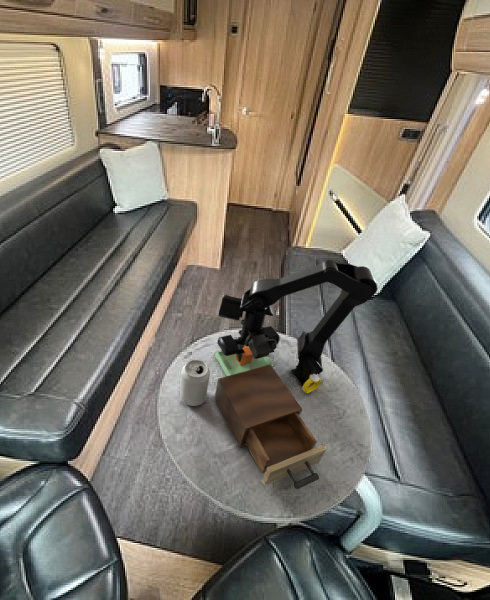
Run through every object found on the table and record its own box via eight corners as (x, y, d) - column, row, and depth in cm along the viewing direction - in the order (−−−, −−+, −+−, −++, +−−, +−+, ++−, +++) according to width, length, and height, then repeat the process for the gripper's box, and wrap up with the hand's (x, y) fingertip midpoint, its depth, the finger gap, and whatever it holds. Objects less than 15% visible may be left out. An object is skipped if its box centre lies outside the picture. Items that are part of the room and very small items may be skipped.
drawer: (330, 480, 75) (339, 466, 71) (274, 505, 69) (281, 492, 65) (284, 413, 88) (290, 398, 84) (235, 430, 82) (239, 415, 79)
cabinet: (294, 427, 86) (302, 408, 81) (239, 447, 80) (245, 428, 75) (264, 382, 97) (270, 364, 92) (214, 397, 91) (217, 378, 86)
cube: (245, 354, 105) (247, 345, 103) (251, 362, 102) (253, 354, 100) (234, 356, 104) (236, 348, 102) (240, 365, 101) (242, 356, 99)
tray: (255, 345, 110) (256, 341, 109) (272, 369, 102) (274, 365, 100) (214, 355, 104) (215, 351, 103) (230, 381, 96) (231, 377, 95)
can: (203, 410, 87) (207, 381, 80) (176, 404, 88) (178, 375, 81) (208, 389, 93) (213, 360, 86) (183, 383, 94) (186, 354, 87)
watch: (312, 383, 99) (318, 370, 95) (319, 390, 97) (325, 377, 94) (298, 390, 96) (304, 377, 93) (305, 397, 94) (311, 384, 91)
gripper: (237, 347, 84) (229, 386, 93) (296, 333, 90) (283, 371, 100) (220, 321, 92) (213, 359, 101) (275, 310, 99) (264, 346, 108)
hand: (244, 359), depth 102 cm, fingers closed on cube, 4 cm apart
